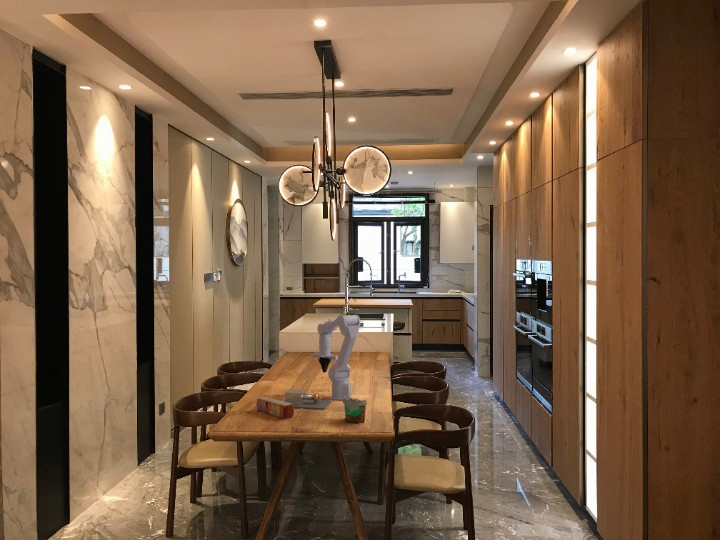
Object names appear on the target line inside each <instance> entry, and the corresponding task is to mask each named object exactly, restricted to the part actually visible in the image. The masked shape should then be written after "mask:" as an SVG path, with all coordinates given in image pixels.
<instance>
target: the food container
mask: <svg viewBox="0 0 720 540" xmlns="http://www.w3.org/2000/svg"><path fill="white" fill-rule="evenodd" d="M342 403H343V405H344V415H345V422H346V423H348V424H351V425H352V424H353V425H354V424H355V425H359V423H361V424H365V423H364V422H366V420H365V419H366V409H367V408H366V406H367V405H368V402H367V399H363V400H360V399H359V398H354V397H353V398H352V397H350V398H349V397H348V395H347V396H345V397H344V399H343V400H342Z"/></svg>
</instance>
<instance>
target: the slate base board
mask: <svg viewBox="0 0 720 540" xmlns="http://www.w3.org/2000/svg"><path fill="white" fill-rule="evenodd" d="M332 401H333V400H332V399H319V402H318V403H316V402H314V400H306V401H305V402H304V403H303V404H302V405H293V406H294V409H299V408H303V409H304V410H305V409H306V410H318V409H321V410H322V411H323V410H326V409H327V408H328V407H329V405H331V404H332ZM283 402H285V400H284V401H283ZM327 406H328V407H327ZM326 407H327V408H326ZM303 409H302V410H303ZM321 410H320V411H321Z"/></svg>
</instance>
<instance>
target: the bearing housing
mask: <svg viewBox="0 0 720 540" xmlns="http://www.w3.org/2000/svg"><path fill="white" fill-rule="evenodd" d="M303 395H307V389H306V388H305V389H304V388H289V389H288V390H286V391H285V392H284V401H285V402H287V403H291V404H293V405H302V404H303V403H304V402H305V401H306V400H304V399H303Z"/></svg>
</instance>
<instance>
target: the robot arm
mask: <svg viewBox="0 0 720 540" xmlns="http://www.w3.org/2000/svg"><path fill="white" fill-rule="evenodd" d="M361 325H362V324H361V318H360V316H359V315H358V314H351V315H339V316H337V318H335V319H333V318H328V320H327V321H324V323H318V325H317V328H316V329H317V332H318V336H319V338H318V339H319V343H318V344H319V347H318V350H319V353H317V352H314V353H312V354H311V356H312V358H318V362H319V364H320V367H321V370H322V373H323V374H324V373H327V375H328V379H329V380H330V381H331V396H330V397H329V400H332V401H333V400H335V401H336V400H337V401H338V400H339V401H343V399H344V397H345V396H347V395H348V397H349V398H352V382H351V381H350V380H348V379H349V377H350V375H351V366H350V365H349V361H350V357H351V355H352V351H353V348H354V345H355V342H356V339H357V335H358V333H359V330H360V327H361ZM338 328H339V331H340V334H341V335H343V336H344V337H343V341H342V344H341V347H340V351H339V354H338V355H336V354H335V355H334V354H331V338H332V334H333V332H334V331H336V330H338ZM332 360H334V361H335V362H334V363H332V364H331V366H330V368H329V365H330V363H331V361H332ZM327 371H328V372H327Z"/></svg>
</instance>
